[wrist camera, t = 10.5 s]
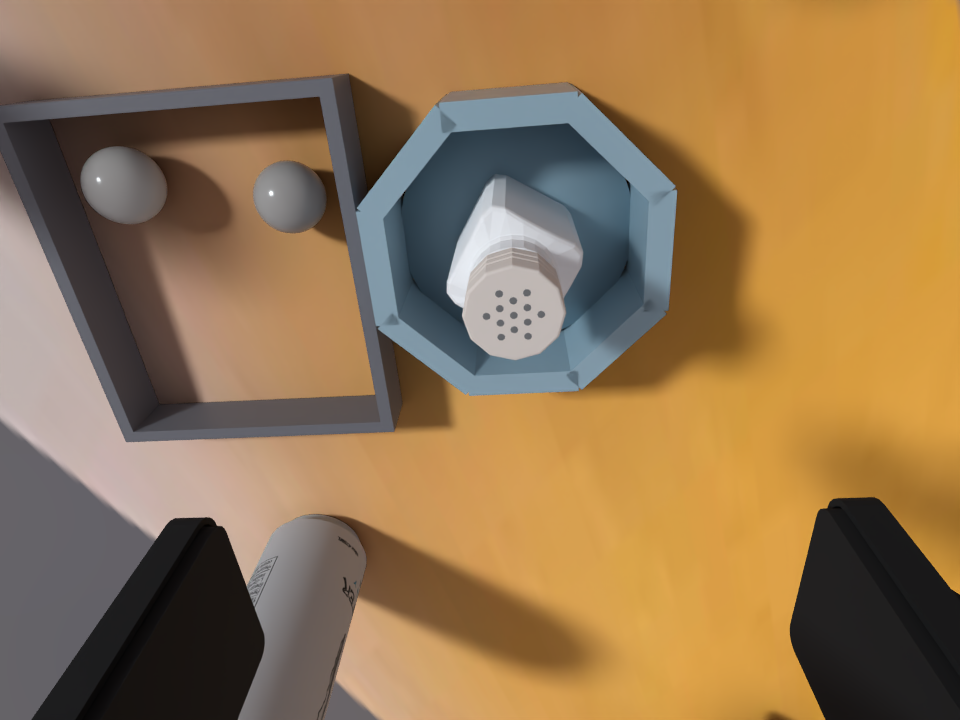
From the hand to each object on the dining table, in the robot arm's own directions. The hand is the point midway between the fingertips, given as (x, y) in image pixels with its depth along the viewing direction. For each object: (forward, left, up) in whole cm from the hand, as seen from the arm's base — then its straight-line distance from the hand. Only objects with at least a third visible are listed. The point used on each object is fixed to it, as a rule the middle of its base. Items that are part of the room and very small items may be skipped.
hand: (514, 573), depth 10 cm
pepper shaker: (0, 0, -20) cm, 20 cm away
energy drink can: (+19, -13, -20) cm, 31 cm away
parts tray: (+1, -13, -20) cm, 24 cm away
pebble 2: (-2, -9, -20) cm, 22 cm away
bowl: (0, 0, -20) cm, 20 cm away
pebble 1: (-3, -16, -20) cm, 26 cm away
